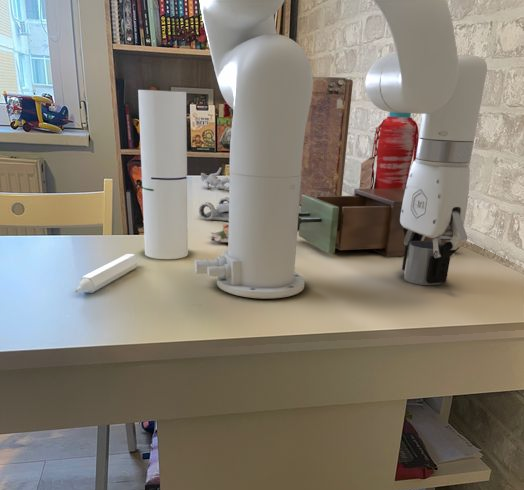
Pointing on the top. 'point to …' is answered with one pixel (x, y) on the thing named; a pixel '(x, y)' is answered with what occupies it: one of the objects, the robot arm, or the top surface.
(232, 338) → the top surface
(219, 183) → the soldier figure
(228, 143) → the plant with pod
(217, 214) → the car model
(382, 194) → the cabinet
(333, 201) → the drawer
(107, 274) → the marker
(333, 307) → the top surface
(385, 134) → the water bottle
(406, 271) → the tin
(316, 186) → the book
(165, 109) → the cylindrical container
